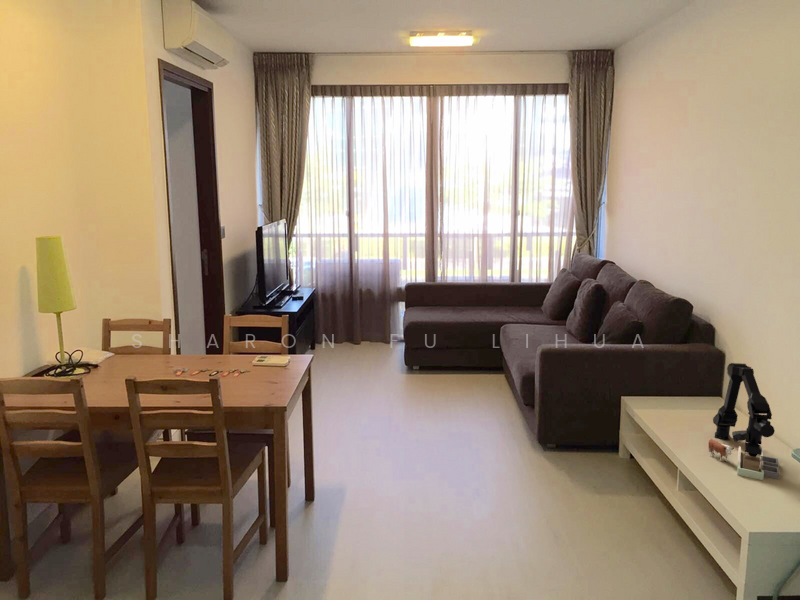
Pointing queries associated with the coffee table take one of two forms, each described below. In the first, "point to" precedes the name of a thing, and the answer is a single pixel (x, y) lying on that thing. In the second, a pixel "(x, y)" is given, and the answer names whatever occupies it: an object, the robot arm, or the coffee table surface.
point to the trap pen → (767, 468)
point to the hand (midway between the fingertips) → (750, 461)
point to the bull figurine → (719, 449)
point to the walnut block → (751, 463)
